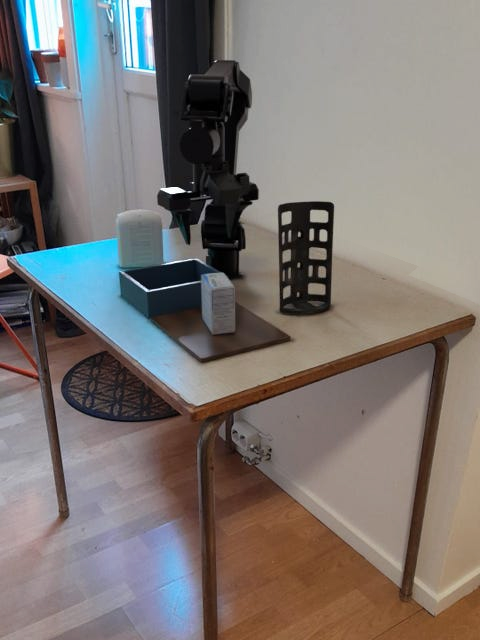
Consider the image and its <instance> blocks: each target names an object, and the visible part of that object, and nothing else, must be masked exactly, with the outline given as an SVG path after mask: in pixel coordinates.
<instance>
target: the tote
mask: <svg viewBox="0 0 480 640" xmlns="http://www.w3.org/2000/svg"><path fill="white" fill-rule="evenodd" d="M210 273H222V272H220V271H218V270H216V269H215V268H213V267H211V266H210V265H208V264H206V262H204V261H203V260H201V259H199V258H197V257H196V258H189V259H183V260H177V261H170V262H165V263H164V264H159V265H153V266H144V267H134V268H129V269H124V270H119V271H118V278H119V291H120V297H121V298H122V299H123V300H125V301H126V302H127V303H128V304H129V305H131V306H132V307H133V308H134V309H136V311H138V312H139V313H140V314H141V315H143V316H144V317H145V318H147V319H148V320H150V318H152V317H156V316H161V315H166V314H171V313H176V312H181V311H185V310H190V309H195V308H200V307H202V293H201V275H204V274H210ZM226 276H227V275H226ZM227 278H228V279H229V276H227ZM229 280H230V279H229Z"/></svg>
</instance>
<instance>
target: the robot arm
mask: <svg viewBox="0 0 480 640" xmlns="http://www.w3.org/2000/svg"><path fill="white" fill-rule="evenodd" d="M181 104H182V105H181V111H180V112H181V114H180V121H181V122H189V128H187V129H186V130H185V131H184V132H183V133H182V135H181V137H180V139H179V151H180V153H181V155H182V157H183V158H184V159H185V161H187V162H188V163H189V166H192V179H193V180H192V181H190V182H189V188H190V189H191V190H190V191H189V190H188V191H186V190H185V189H182V188H180V187H176V186H175V187H166V188H160V189H159V190H158V193H157V195H156V199H157V200H156V201H157V202H156V203H157V206H160V207H162V208H164V210H165V211H168V212H170V213H171V215H172V217H173V218H174V221H175V222H176V224H177V226H178V228H179V231H180V234H181V236H182V238H183V240H184V242H185V244H186V245H187V246H190V245H191V244H192V243H191V241H192V237H191V221H190V218H191V215H192V213H193V210H191V209H190V208H189V207H190V206H191V204H192V203H196V202H203V201H210V202H209V203H208V204H206V206H205V208H204V216H203V217H204V218H203V219H202V220H201V224H200V237H201V245H202V250H207V254H206V255H205V263H206V264H208V265H210V266H211V267H213V268H215V269H216V270H218V271H220V272H222V273H224V274H225V275H227V276H229V280H232V279H236V278H242V277H243V276H244V273H242V272H240V252H242V251H243V250H246V248H247V239H246V238H247V237H246V230H245V228H244V226H243V221H241V216H242V214H243V212H244V210H246V208H248V207H249V206H252V205H253V202H254V201H259V198H260V189H259V187H258V185H257V183H256V182H255V183H254V182H251V180H250V175H249V174H248V173H247V172H239V173H237V166H238V154H239V153H238V152H239V140H240V139H239V138H240V131H241V129H242V128H243V127H244V126H245V124H246V123H247V121H248V119H249V109H252V106H253V91H252V83H251V79H250V77H249V76H248V75H246V74H245V73H244V72H243V71H242V70H241V68H240V62H239V61H237V60H234V59H216V60H215V61H212V63H211V67H210V68H209V69H208V70H207V71H206V72H205V74H190V75H189V76H188V79H187V81H185V82H184V87H183V95H182V103H181Z"/></svg>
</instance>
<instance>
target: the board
mask: <svg viewBox="0 0 480 640" xmlns="http://www.w3.org/2000/svg"><path fill="white" fill-rule="evenodd" d="M149 320H150V323H151V324H153V325H154V326H155V327H157V328H158V329H159V330H160V331H161V332H162V333H164V334H165V335H167V336H168V337H169V338H170V339H171V340H173V342H175V343H176V344H178V345H179V346H180V347H181V348H182V349H184V350H185V351H186V352H187V353H188V354H190V355H191V356H192V357H194V358H195V359H196V360H197V361H198V362H199V363H202V364H203V363H206V362H209V361H210V362H211V361H214V360H218V359H222V358H225V357H229V356H235V355H237V354H238V355H239V354H242V353H246V352H250V351H253V350H259V349H262V348H266V347H270V346H274V345H277V344H281V343H286V342H290V341H291V339H292V338H291V335H289V334H287V332H284V331H283V330H282V329H280V328H278V327H276V326H275V325H273V324H272V323H270V322H268V321H267V320H265V319H264V318H263V317H260V316H259V315H257V314H255V313H254V312H252V311H250V310H249V309H248V308H246V307H244V306H243V305H241V304H240V303H238V302H236V301H235V332H234V333H225V334H215V335H212V333H211V331H210V330H209V328H208V326H207V325H206V323H205V322H204V320H203V318H202V307H200V308H195V309H190V310H185V311H181V312H176V313H171V314H166V315H161V316H156V317H152V318H150V319H149Z"/></svg>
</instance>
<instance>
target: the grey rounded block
mask: <svg viewBox="0 0 480 640" xmlns="http://www.w3.org/2000/svg"><path fill="white" fill-rule="evenodd" d="M116 216H117V217H116V220H115V231H116V245H117V259H118V267H120V268H141V267H147V266H153V265H159V264H165V263H164V262H165V261H164V235H163V222H162V218H161V214H160V213H159V212H157V211H154V210H149V209H130V210H126V211H122V212H121V213H118V214H117V215H116Z"/></svg>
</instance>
